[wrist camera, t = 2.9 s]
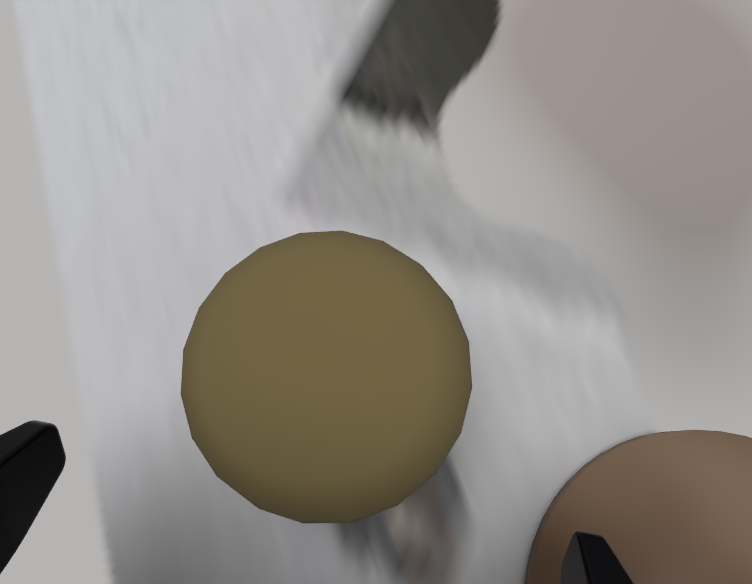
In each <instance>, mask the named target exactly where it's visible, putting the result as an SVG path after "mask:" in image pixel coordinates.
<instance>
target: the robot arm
mask: <svg viewBox="0 0 752 584" xmlns="http://www.w3.org/2000/svg"><path fill="white" fill-rule="evenodd" d="M65 460H66V456H65V452H64V448H63V445H62V442H61V438H60V435H59V432H58V429H57V427H56V426H55V425H54V424H51V423H46V422H41V421H29V422H27V423H24V424H22V425H20V426H18V427H16V428H14V429H12V430H10V431H8V432H6V433H4V434H2V435H0V574H1V572H2V571H3V569H4V568H5V567H6V565H7V564H8V562H9V561H10V559H11V558H12V556H13V554H14V553H15V552H16V550H17V549H18V547H19V545H20V544H21V542H22V540H23V539H24V537H25V535H26V534H27V532H28V530H29V528H30V527H31V525H32V523H33V521H34V520H35V518H36V516H37V514H38V512H39V511H40V509H41V507H42V506H43V504H44V502H45V500H46V499H47V497H48V495H49V493H50V491H51V490H52V488H53V486H54V484H55V483H56V481H57V479H58V477H59V476H60V474H61V472H62V470H63V468H64V465H65ZM560 579H561V584H634V583H633V581H632V579H631V578H630V576H629V575H628V573H627V572H626V570H625V569H624V567H623V565H622V564H621V562H620V561H619V559H618V558H617V556H616V555H615V553H614V552H613V550H612V548H611V547H610V545H609V544H608V542H607V541H606V539H605V538H604V537H603V536H601V535H600V534H597V533H592V532H587V531H582V530H577V531H575V532H574V534H573V535H572V538H571V540H570V543H569V545H568V548H567V550H566V553H565V555H564V558H563V561H562V565H561V576H560Z"/></svg>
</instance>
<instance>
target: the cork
mask: <svg viewBox="0 0 752 584" xmlns="http://www.w3.org/2000/svg"><path fill="white" fill-rule="evenodd" d="M471 390H472V379H471V366H470V352H469V341H468V338H467V336H466V334H465V331H464V329H463V326H462V324H461V321H460V319H459V317H458V314H457V312H456V309H455V307H454V304H453V302H452V300H451V299H450V298H449V296H448V295H447V294H446V293H445V292H444V290H443V289H442V288H441V287H440V286H439V285H438V283H437V282H436V281H435V280H434V279H433V278H432V276H431V275H430V274H429V273H428V272H427V271H426V269H425V268H424V267H423V266H422V265H420V264H419V263H418V262H416V261H414V260H413V259H411V258H410V257H408V256H406V255H405V254H403V253H402V252H400V251H398V250H397V249H395V248H393V247H392V246H390V245H389V244H387V243H385V242H384V241H381V240H377V239H373V238H369V237H365V236H361V235H357V234H353V233H349V232H345V231H328V232H310V233H299V234H296V235H293V236H291V237H288V238H285V239H282V240H279V241H277V242H274V243H271V244H268V245H266V246H263V247H260V248H259V249H257V250H256V251H255V252H253V253H252V254H251V255H249V256H248V257H247V258H245V259H244V260H242V261H241V262H240V263H238V264H237V265H236V266H234V267H233V268H232V269H230V270H229V271H228V272H226V273H225V274H224V276H223V277H222V278H221V280H220V281H219V282H218V284H217V285H216V286H215V287H214V289H213V290H212V291H211V293H210V294H209V295H208V297H207V298H206V299H205V301H204V302H203V303H202V305H201V306H200V307H199V309H198V312H197V315H196V317H195V320H194V323H193V325H192V328H191V331H190V333H189V336H188V339H187V341H186V344H185V347H184V349H183V366H182V382H181V397H182V401H183V404H184V408H185V412H186V416H187V420H188V424H189V428H190V432H191V436H192V439H193V440H194V442H195V443H196V445H197V446H198V448H199V449H200V451H201V452H202V454H203V456H204V457H205V459H206V460H207V462H208V463H209V465H210V466H211V468H212V469H213V471H214V473H215V474H216V476H217V477H219V478H220V479H221V480H222V481H224V482H225V483H226V484H228V485H229V486H230V487H231V488H233V489H234V490H235V491H237V492H238V493H239V494H240V495H242V496H243V497H244V498H246V499H247V500H248V501H249V502H251V503H252V504H253V505H255V506H256V507H257V508H259V509H262V510H265V511H268V512H271V513H274V514H277V515H280V516H283V517H286V518H289V519H292V520H295V521H298V522H301V523H345V522H354V521H357V520H359V519H362V518H365V517H367V516H370V515H373V514H375V513H378V512H381V511H383V510H386V509H389V508H391V507H394V506H397V505H398V504H399V503H401V502H402V501H403V500H404V499H405V498H407V497H408V496H409V495H410V494H412V493H413V492H414V491H415V490H416V489H418V488H419V487H420V486H421V485H423V484H424V483H425V482H426V481H427V480H429V479H430V478H431V477H432V476H434V475H435V473H436V472H437V470H438V469H439V467H440V465H441V464H442V462H443V461H444V459H445V458H446V456H447V454H448V453H449V451H450V450H451V448H452V446H453V445H454V443H455V442H456V440H457V438H458V437H459V435H460V434H461V430H462V426H463V422H464V418H465V414H466V410H467V406H468V402H469V398H470V394H471Z"/></svg>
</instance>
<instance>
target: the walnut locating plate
mask: <svg viewBox="0 0 752 584" xmlns="http://www.w3.org/2000/svg"><path fill="white" fill-rule="evenodd" d="M577 530H582V531H587V532H592V533H597V534H600V535H601V536H603V537H604V538H605V539H606V541H607V542H608V544H609V545H610V547H611V548H612V550H613V552H614V553H615V555H616V556H617V558H618V559H619V561H620V562H621V564H622V565H623V567H624V569H625V570H626V572H627V573H628V575H629V576H630V578H631V579H632V581H633V583H634V584H752V438H750V437H746V436H741V435H736V434H731V433H726V432H721V431H705V430H687V431H686V430H685V431H671V432H660V433H655V434H650V435H645V436H641V437H638V438H635V439H632V440H629V441H626V442H624V443H621V444H619V445H617V446H615V447H613V448H611V449H609V450H607V451H605V452H603V453H601V454H600V455H598V456H597V457H596V458H594V459H593V460H592V461H590V462H589V463H587V464H586V465H585V466H583V467H582V468H581V469H580V470H579V471H578V472H577V473H576V474H575V475H574V476H573V477H572V478H571V479H570V480H569V481H568V482H567V483H566V484H565V485H564V487H563V488H562V489H561V491H560V492H559V493H558V495H557V496H556V497H555V499H554V500H553V502H552V503H551V505H550V507H549V509H548V510H547V512H546V514H545V516H544V517H543V519H542V521H541V524H540V526H539V529H538V532H537V534H536V537H535V539H534V542H533V546H532V549H531V553H530V557H529V561H528V566H527V574H526V582H525V584H561V579H560V576H561V565H562V561H563V558H564V555H565V553H566V550H567V548H568V545H569V543H570V540H571V538H572V535H573V534H574V532H575V531H577Z"/></svg>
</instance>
